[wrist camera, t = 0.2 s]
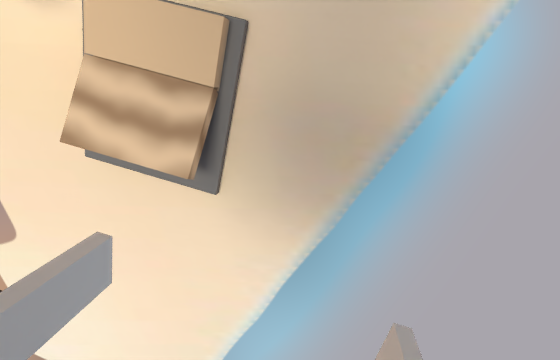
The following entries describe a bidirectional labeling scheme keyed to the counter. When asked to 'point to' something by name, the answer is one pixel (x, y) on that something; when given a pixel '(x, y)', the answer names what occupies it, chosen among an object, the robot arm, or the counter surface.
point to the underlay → (173, 63)
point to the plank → (139, 116)
